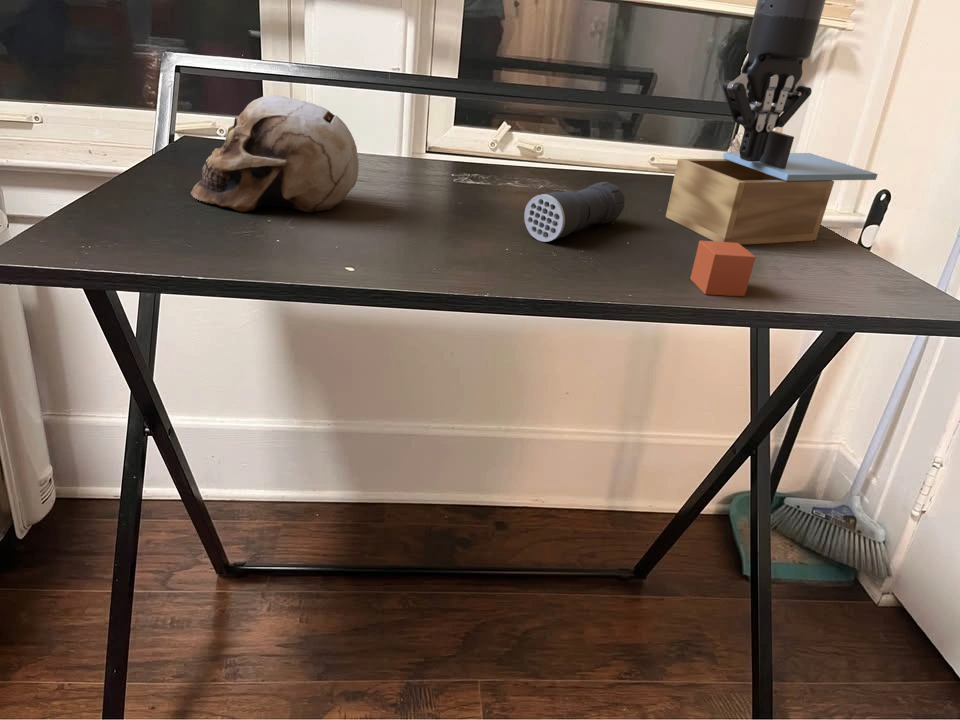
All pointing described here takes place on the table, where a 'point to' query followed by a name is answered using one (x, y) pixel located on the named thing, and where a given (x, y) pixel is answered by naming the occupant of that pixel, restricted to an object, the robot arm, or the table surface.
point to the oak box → (745, 203)
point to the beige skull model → (281, 159)
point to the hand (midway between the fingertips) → (749, 160)
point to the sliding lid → (798, 163)
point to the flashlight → (572, 210)
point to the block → (722, 268)
